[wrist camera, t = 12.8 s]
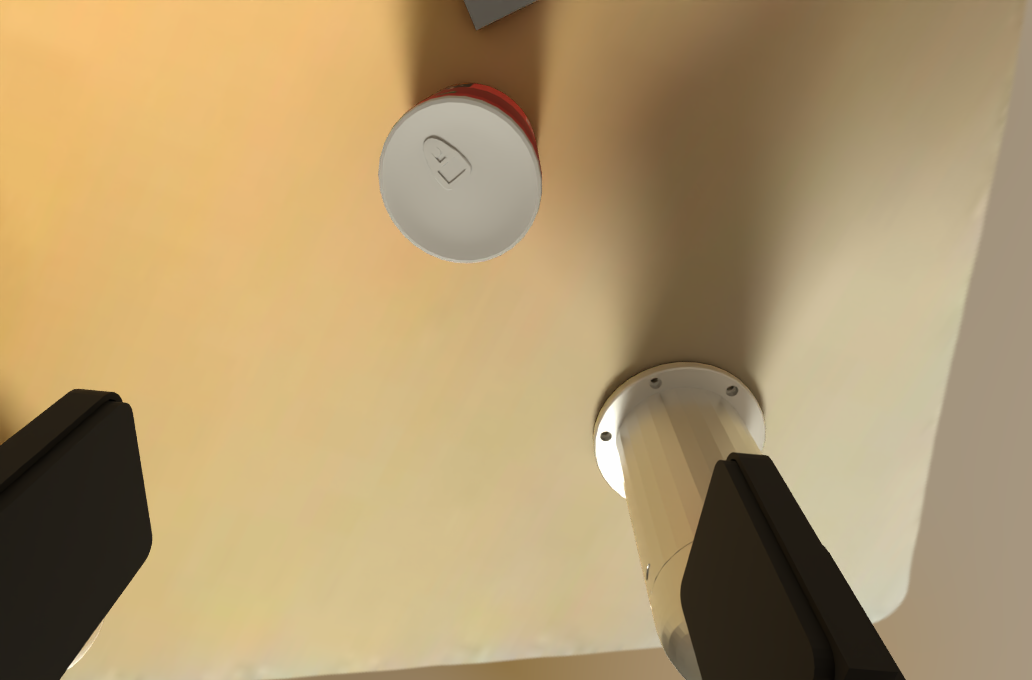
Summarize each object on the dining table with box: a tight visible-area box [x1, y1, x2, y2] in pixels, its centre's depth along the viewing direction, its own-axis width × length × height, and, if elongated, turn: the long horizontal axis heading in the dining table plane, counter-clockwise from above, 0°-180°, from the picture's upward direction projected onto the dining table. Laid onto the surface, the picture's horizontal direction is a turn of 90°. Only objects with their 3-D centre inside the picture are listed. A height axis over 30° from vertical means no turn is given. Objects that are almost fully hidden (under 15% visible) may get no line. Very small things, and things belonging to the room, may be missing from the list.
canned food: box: [378, 83, 542, 263], centre depth 36 cm, size 8×8×11 cm
